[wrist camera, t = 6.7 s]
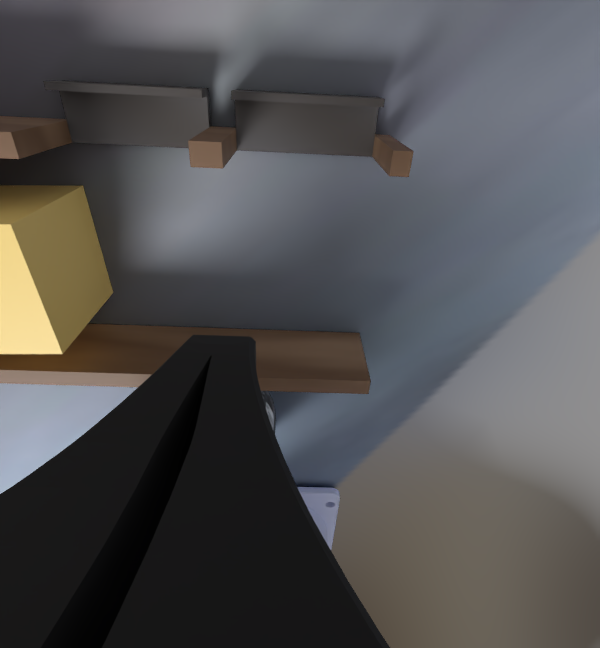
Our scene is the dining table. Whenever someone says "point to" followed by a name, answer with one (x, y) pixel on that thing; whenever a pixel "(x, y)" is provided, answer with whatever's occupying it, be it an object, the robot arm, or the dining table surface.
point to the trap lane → (208, 152)
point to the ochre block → (47, 268)
